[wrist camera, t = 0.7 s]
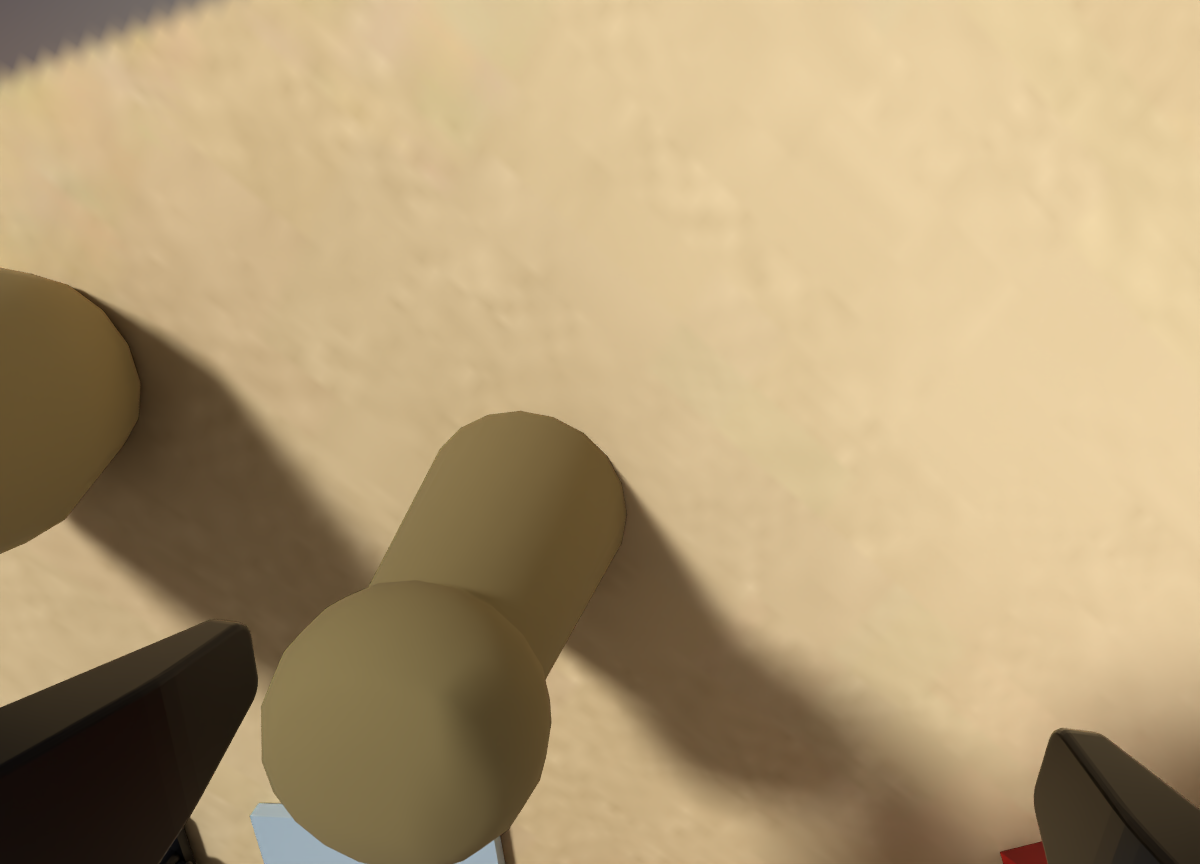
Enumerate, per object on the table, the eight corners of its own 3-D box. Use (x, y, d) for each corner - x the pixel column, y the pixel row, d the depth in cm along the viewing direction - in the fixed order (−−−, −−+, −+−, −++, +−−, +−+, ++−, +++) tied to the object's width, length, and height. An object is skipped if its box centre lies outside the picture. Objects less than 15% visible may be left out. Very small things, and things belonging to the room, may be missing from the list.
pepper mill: (494, 368, 22) (296, 564, 11) (668, 494, 22) (627, 787, 12) (390, 521, 24) (143, 801, 14) (551, 632, 24) (431, 981, 14)
